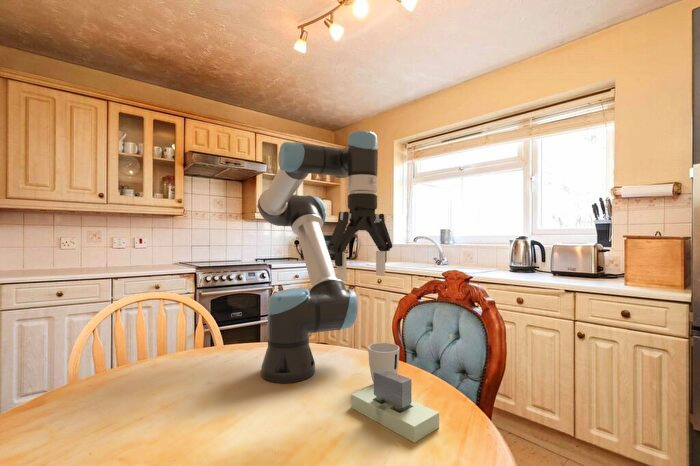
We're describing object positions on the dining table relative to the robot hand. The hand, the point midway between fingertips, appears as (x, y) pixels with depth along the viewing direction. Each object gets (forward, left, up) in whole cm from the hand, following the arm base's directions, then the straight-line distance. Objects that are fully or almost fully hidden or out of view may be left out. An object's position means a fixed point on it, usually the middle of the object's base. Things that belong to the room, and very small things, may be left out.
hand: (362, 277), depth 88 cm
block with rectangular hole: (+14, -4, -28) cm, 32 cm away
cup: (+2, +6, -29) cm, 29 cm away
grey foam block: (+14, -4, -28) cm, 32 cm away
